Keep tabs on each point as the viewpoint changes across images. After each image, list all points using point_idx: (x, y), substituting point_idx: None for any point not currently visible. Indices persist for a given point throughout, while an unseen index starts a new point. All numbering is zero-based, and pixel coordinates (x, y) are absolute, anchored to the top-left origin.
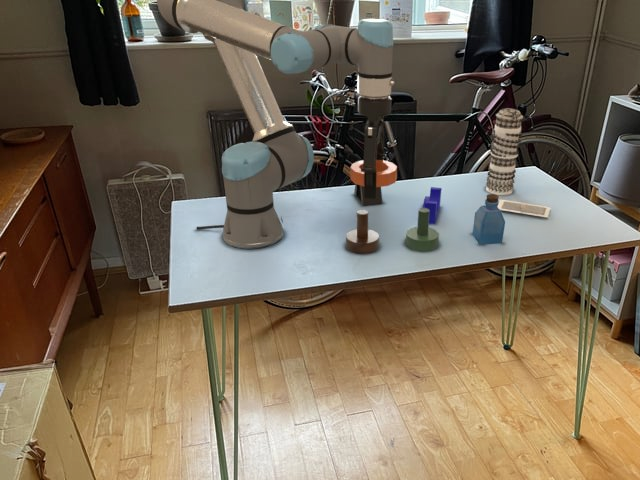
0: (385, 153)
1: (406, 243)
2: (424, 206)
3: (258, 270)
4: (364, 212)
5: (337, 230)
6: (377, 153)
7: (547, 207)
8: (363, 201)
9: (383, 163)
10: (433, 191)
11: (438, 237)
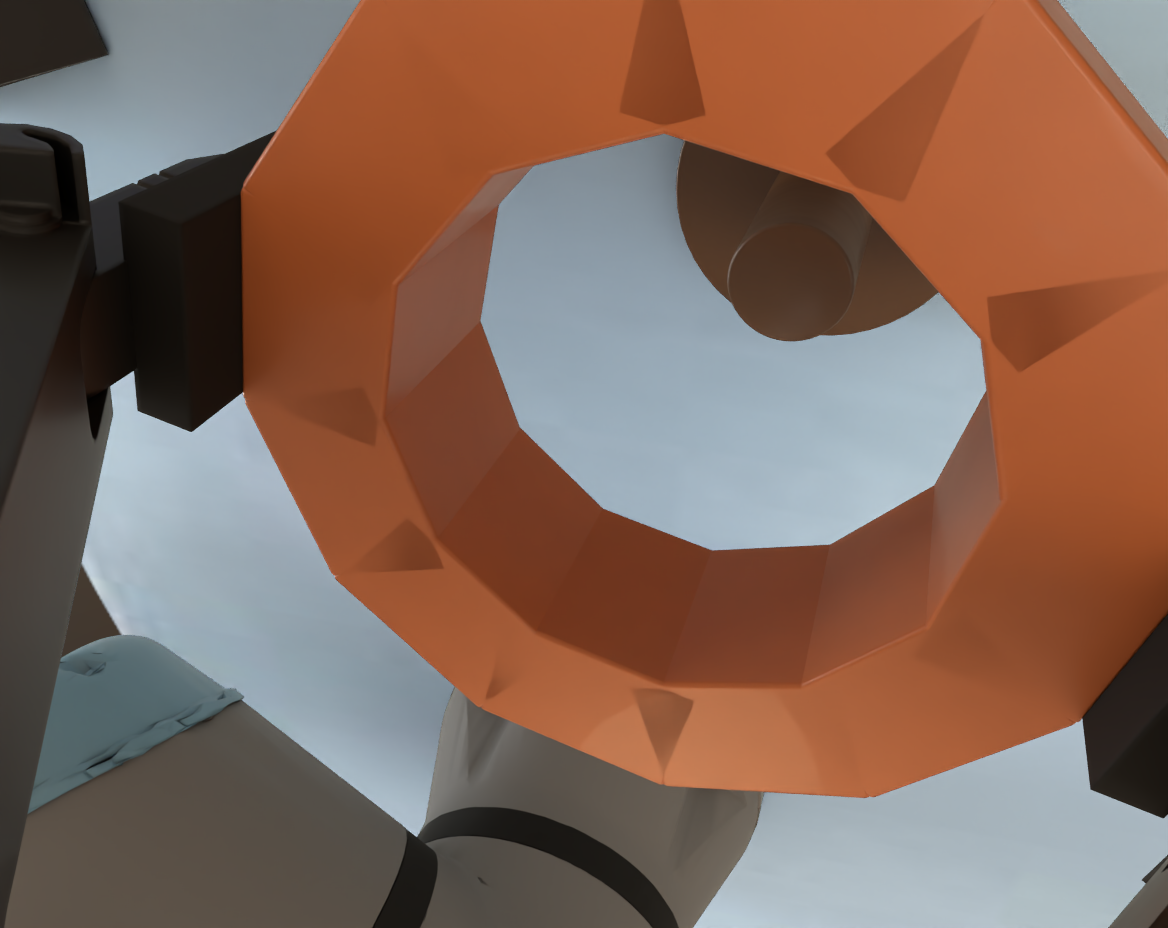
0: (75, 155)
1: None
2: None
3: (1032, 805)
4: (800, 267)
5: (540, 313)
6: (112, 329)
7: None
8: (79, 57)
9: (445, 218)
10: None
11: None
